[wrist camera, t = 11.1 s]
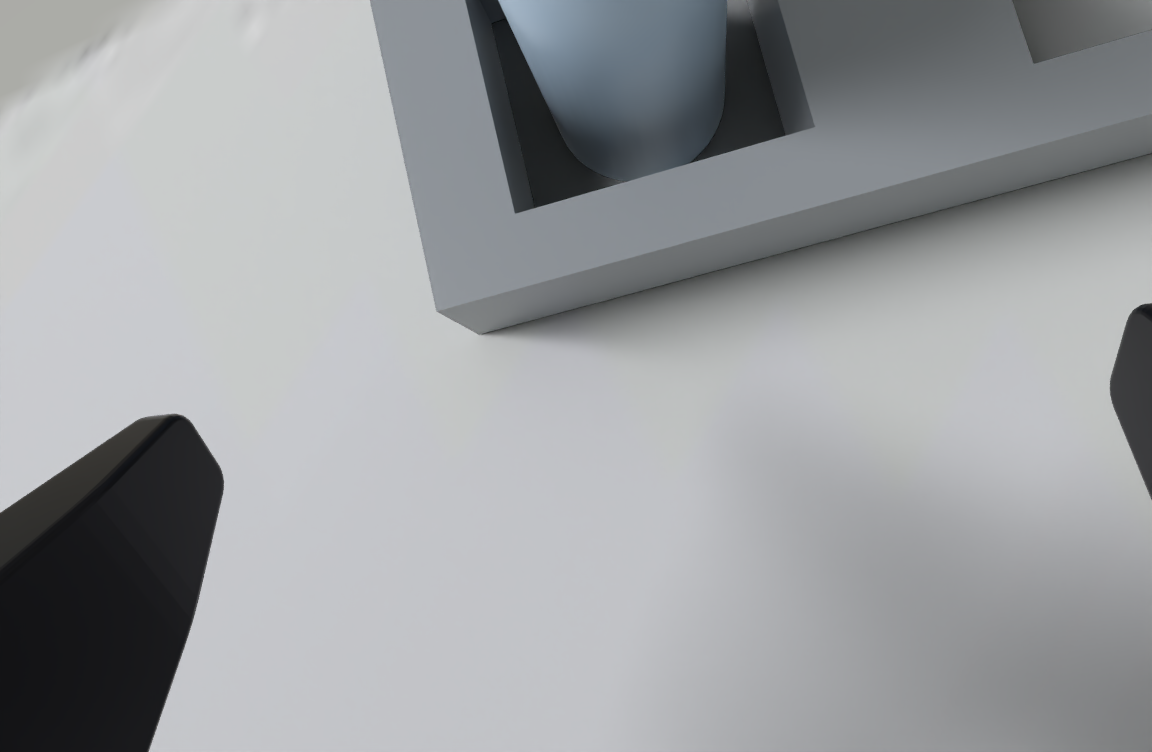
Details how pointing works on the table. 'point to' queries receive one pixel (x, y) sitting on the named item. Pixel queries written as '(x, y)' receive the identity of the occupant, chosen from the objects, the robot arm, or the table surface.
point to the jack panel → (758, 172)
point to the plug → (627, 77)
